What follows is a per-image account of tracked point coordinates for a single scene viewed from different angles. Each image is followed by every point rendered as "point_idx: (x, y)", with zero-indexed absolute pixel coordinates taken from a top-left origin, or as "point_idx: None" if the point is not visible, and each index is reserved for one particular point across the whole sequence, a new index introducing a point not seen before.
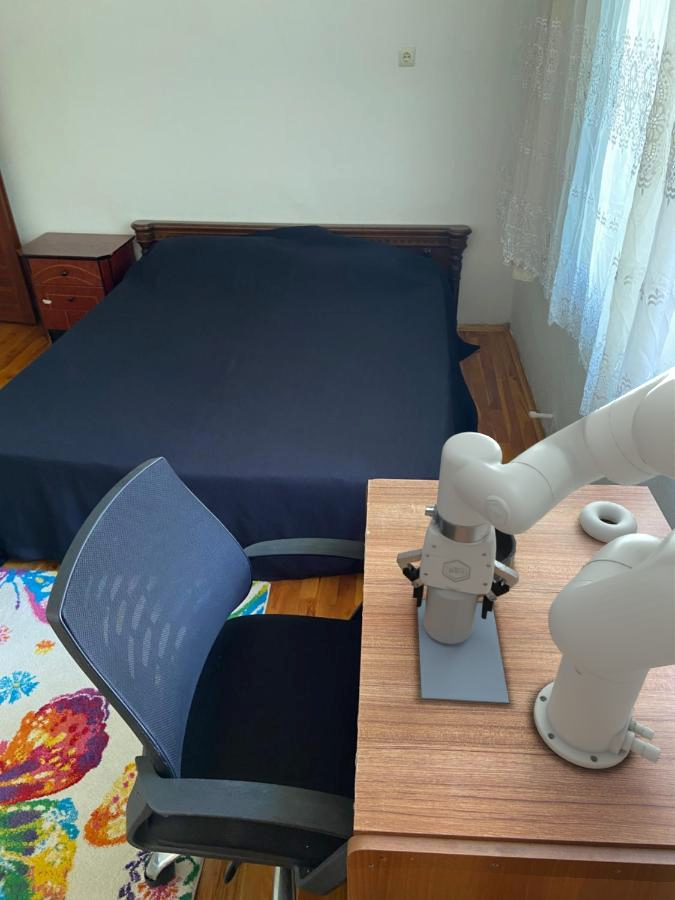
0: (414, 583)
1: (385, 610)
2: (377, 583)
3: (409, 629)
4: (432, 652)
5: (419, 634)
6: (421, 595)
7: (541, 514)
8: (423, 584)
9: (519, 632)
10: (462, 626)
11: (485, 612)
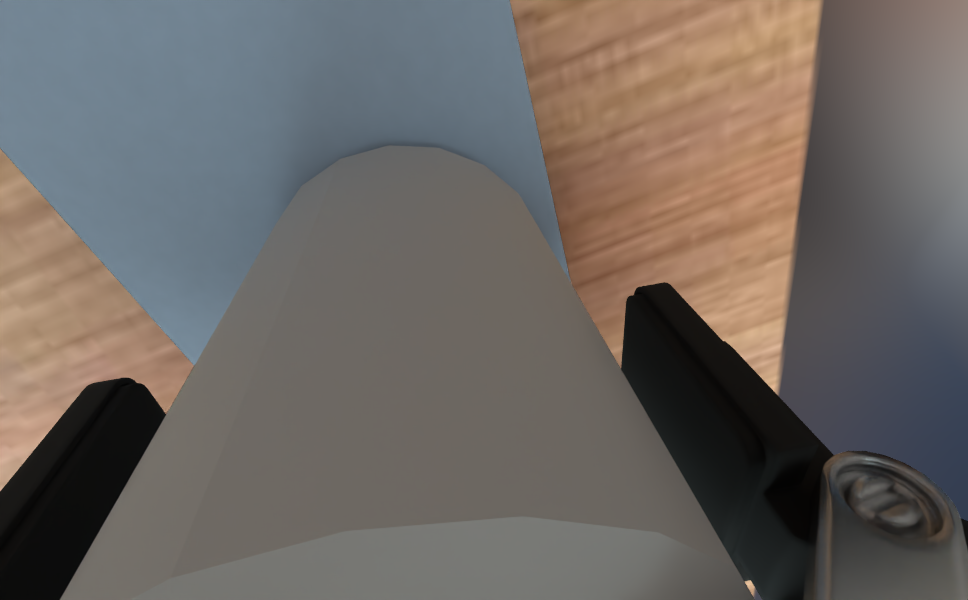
0: (910, 508)
1: (722, 251)
2: (754, 362)
3: (597, 187)
4: (441, 66)
5: (543, 171)
6: (708, 385)
7: None
8: (735, 508)
9: (79, 376)
10: (261, 258)
11: (49, 448)
